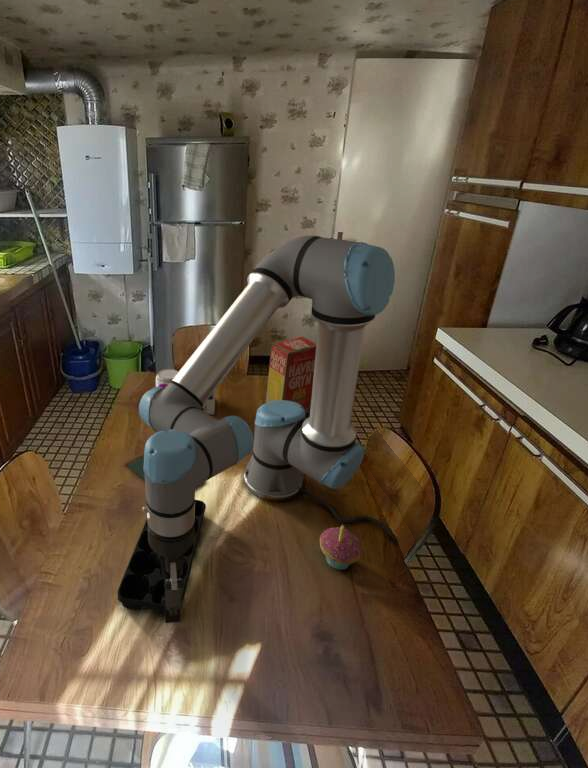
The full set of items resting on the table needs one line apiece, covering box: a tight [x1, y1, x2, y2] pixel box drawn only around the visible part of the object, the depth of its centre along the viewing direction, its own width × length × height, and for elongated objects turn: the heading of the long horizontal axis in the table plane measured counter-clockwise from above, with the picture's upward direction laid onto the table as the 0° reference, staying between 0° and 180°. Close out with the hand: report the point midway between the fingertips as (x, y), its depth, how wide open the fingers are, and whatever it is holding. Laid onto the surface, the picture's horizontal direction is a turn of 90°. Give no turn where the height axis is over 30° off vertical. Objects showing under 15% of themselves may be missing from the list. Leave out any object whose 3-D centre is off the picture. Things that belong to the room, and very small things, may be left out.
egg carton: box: [117, 499, 207, 617], centre depth 93 cm, size 18×30×4 cm, turn 1°
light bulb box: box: [200, 390, 216, 415], centre depth 148 cm, size 11×7×11 cm, turn 179°
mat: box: [126, 455, 206, 490], centre depth 118 cm, size 20×11×1 cm, turn 44°
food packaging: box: [265, 336, 317, 414], centre depth 144 cm, size 13×9×25 cm
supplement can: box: [155, 368, 179, 388], centre depth 143 cm, size 8×8×15 cm
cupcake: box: [319, 524, 363, 571], centre depth 91 cm, size 9×8×12 cm
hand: (172, 618), depth 79 cm, fingers closed
